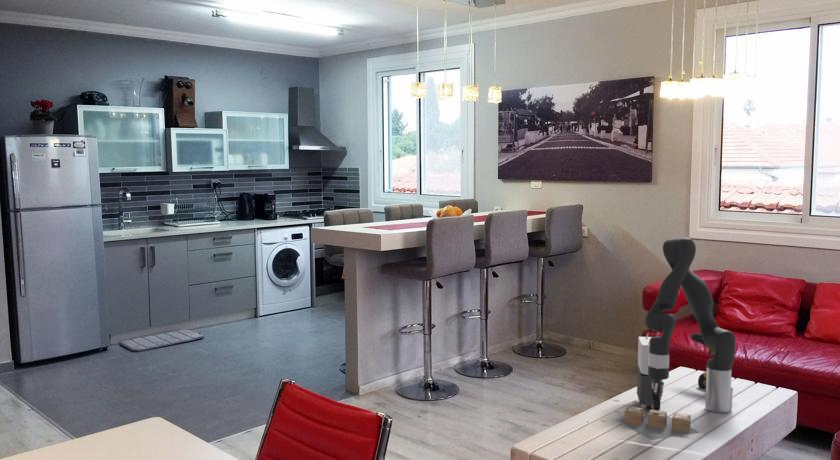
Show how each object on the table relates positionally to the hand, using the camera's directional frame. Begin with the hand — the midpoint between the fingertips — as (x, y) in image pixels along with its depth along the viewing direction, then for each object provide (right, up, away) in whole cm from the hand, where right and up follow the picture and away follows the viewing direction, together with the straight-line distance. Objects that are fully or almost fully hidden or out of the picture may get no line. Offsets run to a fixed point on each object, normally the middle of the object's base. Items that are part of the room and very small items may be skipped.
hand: (656, 409), depth 274 cm
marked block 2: (+8, -6, -3) cm, 11 cm away
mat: (0, -7, 0) cm, 7 cm away
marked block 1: (-7, -6, +4) cm, 10 cm away
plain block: (0, -6, 0) cm, 6 cm away
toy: (+4, -5, +25) cm, 26 cm away
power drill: (+39, -3, +51) cm, 64 cm away
